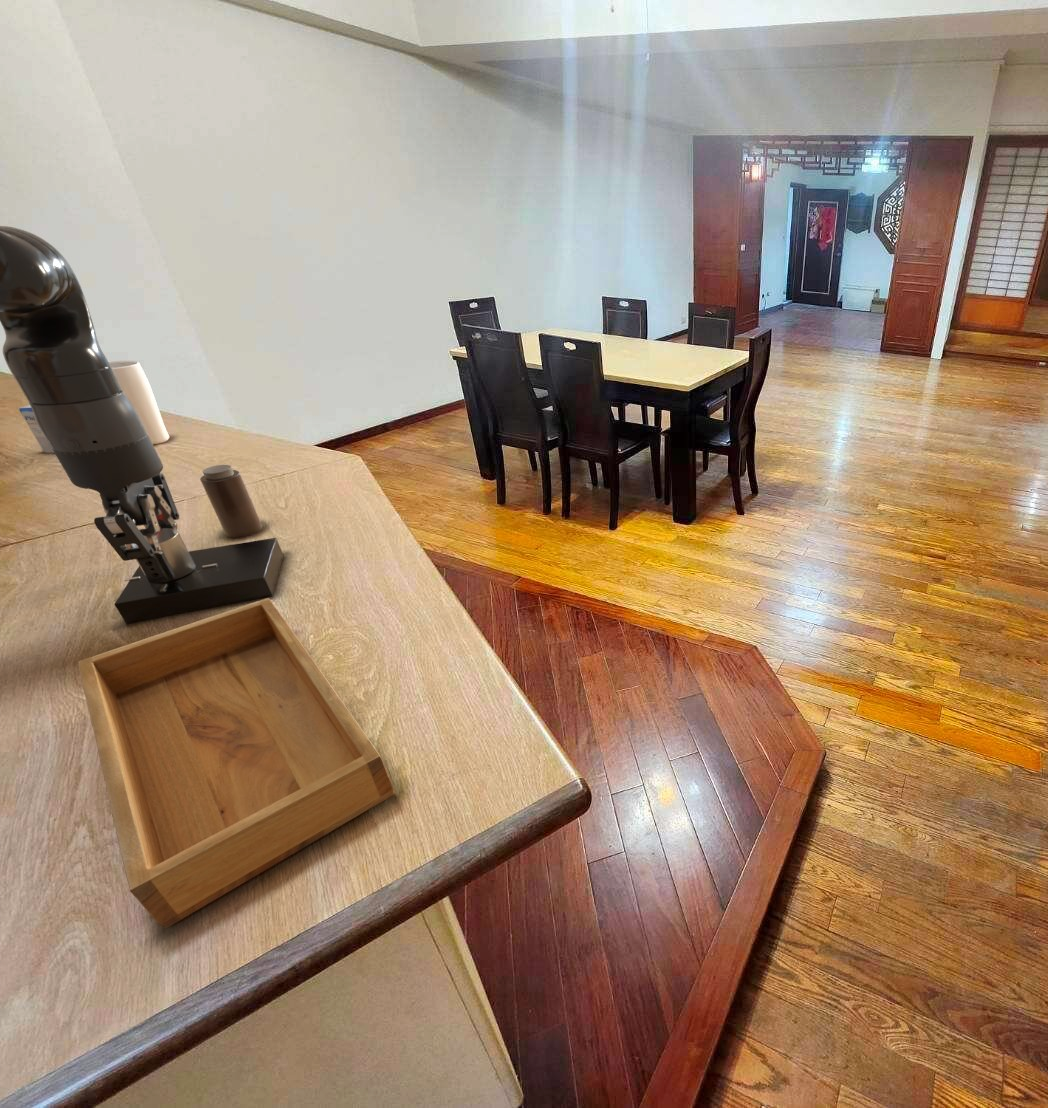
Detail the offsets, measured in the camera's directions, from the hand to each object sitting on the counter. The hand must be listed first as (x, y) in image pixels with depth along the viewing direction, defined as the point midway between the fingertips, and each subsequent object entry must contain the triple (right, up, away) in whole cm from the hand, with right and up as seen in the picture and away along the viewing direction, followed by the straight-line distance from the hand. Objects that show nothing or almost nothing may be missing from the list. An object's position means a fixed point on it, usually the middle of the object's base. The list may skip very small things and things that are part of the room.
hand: (170, 569), depth 72 cm
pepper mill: (-4, +5, +16) cm, 17 cm away
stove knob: (0, 0, 0) cm, 0 cm away
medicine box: (-58, +23, +41) cm, 74 cm away
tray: (+24, -16, -18) cm, 34 cm away
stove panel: (+2, -2, +3) cm, 5 cm away
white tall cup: (-46, +24, +44) cm, 69 cm away
